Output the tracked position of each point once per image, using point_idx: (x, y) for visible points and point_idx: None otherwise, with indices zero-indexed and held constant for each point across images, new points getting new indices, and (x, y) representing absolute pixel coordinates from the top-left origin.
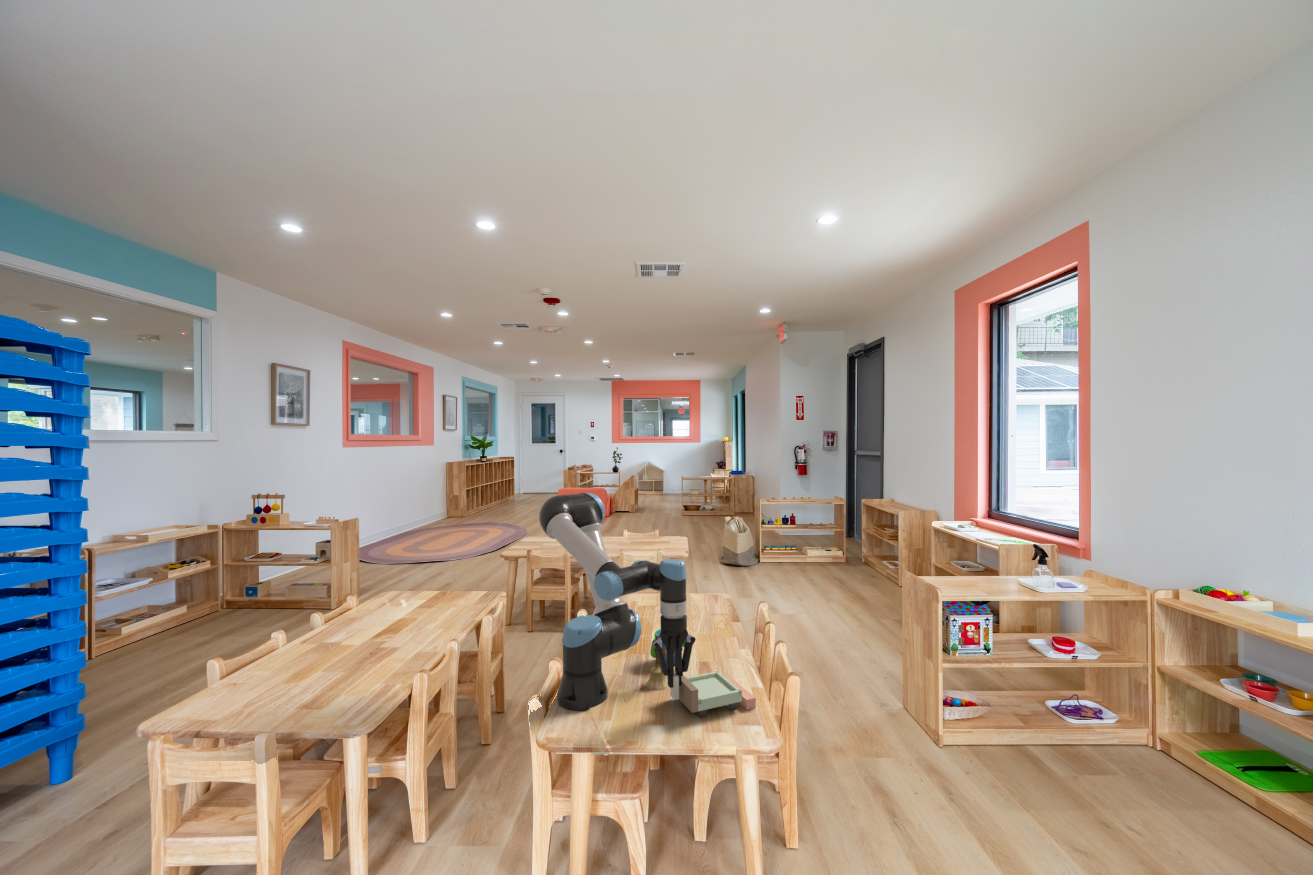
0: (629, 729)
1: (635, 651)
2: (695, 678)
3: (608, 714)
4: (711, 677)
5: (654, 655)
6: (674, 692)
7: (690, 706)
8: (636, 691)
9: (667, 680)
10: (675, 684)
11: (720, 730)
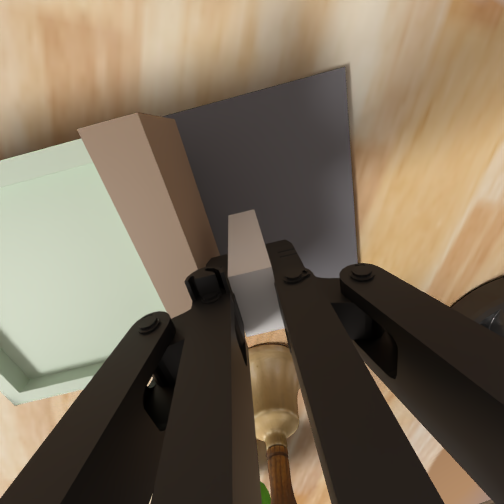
0: (443, 122)
1: None
2: None
3: (468, 239)
4: (55, 371)
5: (261, 490)
6: (256, 222)
7: (175, 136)
8: None
9: None
10: (252, 243)
11: (45, 26)
